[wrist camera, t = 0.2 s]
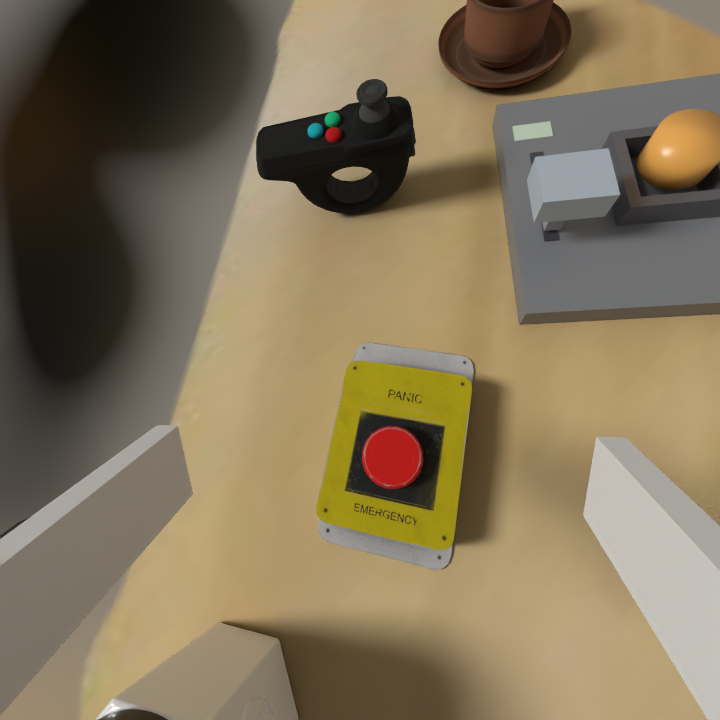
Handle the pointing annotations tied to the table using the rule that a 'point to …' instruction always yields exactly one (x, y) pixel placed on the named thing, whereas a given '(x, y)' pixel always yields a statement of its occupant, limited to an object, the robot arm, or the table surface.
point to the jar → (212, 682)
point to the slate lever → (571, 187)
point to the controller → (343, 150)
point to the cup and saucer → (504, 41)
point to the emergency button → (397, 454)
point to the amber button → (681, 150)
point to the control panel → (622, 222)
